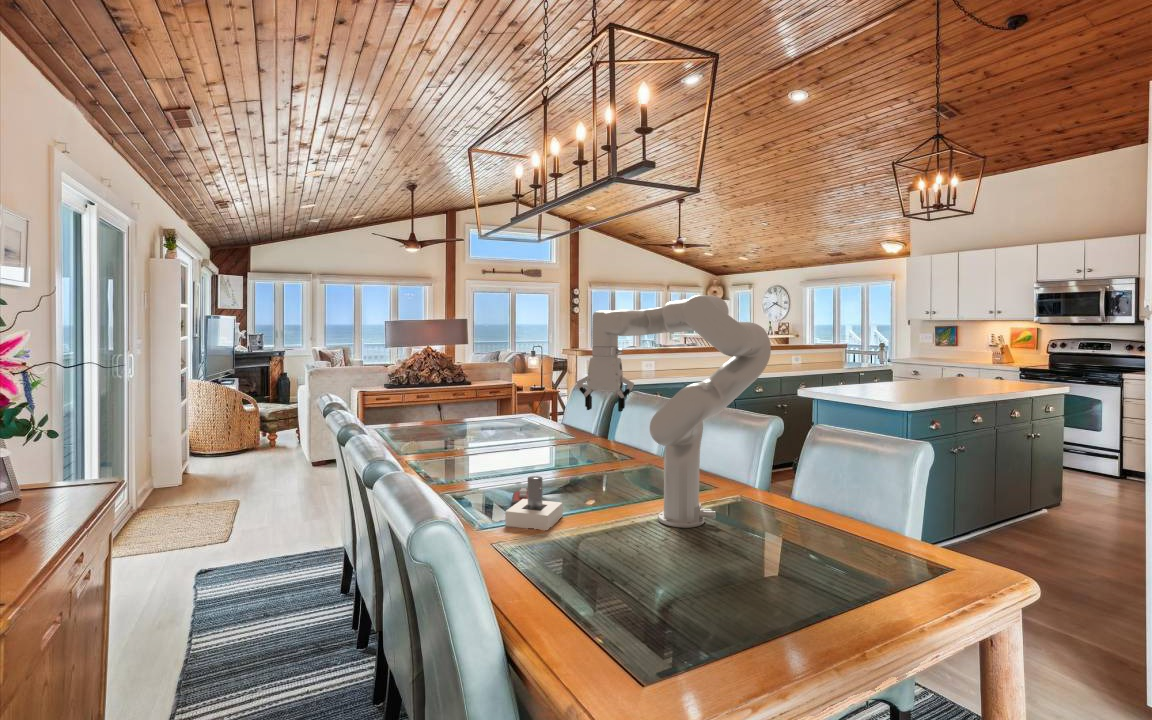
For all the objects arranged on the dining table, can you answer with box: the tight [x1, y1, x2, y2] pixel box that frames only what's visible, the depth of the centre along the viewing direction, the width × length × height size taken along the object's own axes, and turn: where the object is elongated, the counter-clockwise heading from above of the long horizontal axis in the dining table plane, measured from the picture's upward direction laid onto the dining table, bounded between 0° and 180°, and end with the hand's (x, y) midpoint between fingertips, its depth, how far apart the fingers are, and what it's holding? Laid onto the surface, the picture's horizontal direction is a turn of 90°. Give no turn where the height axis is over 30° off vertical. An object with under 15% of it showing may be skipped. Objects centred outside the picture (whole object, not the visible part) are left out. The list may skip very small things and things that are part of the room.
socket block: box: [504, 499, 564, 531], centre depth 163 cm, size 12×12×4 cm
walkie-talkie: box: [510, 487, 528, 508], centre depth 182 cm, size 9×4×20 cm
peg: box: [527, 475, 543, 511], centre depth 163 cm, size 4×4×12 cm
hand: (604, 410), depth 177 cm, fingers open, 9 cm apart
